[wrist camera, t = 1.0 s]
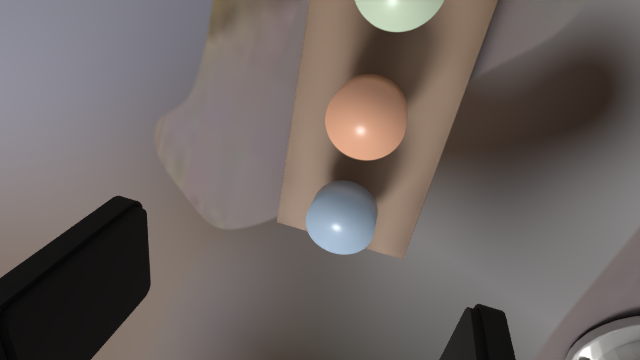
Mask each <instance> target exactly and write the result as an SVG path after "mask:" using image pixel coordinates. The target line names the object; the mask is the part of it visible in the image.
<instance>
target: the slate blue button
mask: <svg viewBox="0 0 640 360" xmlns="http://www.w3.org/2000/svg"><path fill="white" fill-rule="evenodd" d="M377 217H378V207H377V203H376V201H375V199H374V197H373V196H372V194H371V193H370V192H369V191H368V190H367V189H365V188H364V187H363V186H361V185H359V184H357V183H354V182H351V181H344V180H342V181H334V182H330V183H328V184H326V185H324V186H323V187H322V188H321V189H320V190H319V191H318V192H317V194H316V196H315V198H314V200H313V202H312V204H311V206H310V208H309V210H308V212H307V215H306V228H307V231H308V233H309V235H310V236H311V238H312V239H313V240H314V242H316V243H317V244H318V245H319V246H320V247H322V248H323V249H325V250H327V251H329V252H332V253H337V254H353V253H356V252H359V251H361V250H362V249H364V248H366V247H367V246H368V245H369V243H370V242H371V240H372V238H373V236H374V231H375V226H376V221H377Z"/></svg>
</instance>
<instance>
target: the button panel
mask: <svg viewBox="0 0 640 360" xmlns="http://www.w3.org/2000/svg"><path fill="white" fill-rule="evenodd" d="M497 2H498V0H444V2H443V4H442V5H441V7H440V8H439V10H438V11H437V12H436V13H435V15H434V16H433V17H432V18H431V19H429V20H428V21H427V22H426V23H424V24H423V25H421V26H419V27H417V28H415V29H412V30H409V31H404V32H390V31H385V30H382V29H380V28H378V27H376V26H374V25H373V24H371V23H370V22H369V21H368V20H366V18H365V17H364V16H363V15H362V14H361V12H360V11H359V9H358V7H357V5H356V2H355V0H309V7H308V14H307V20H306V27H305V34H304V41H303V48H302V54H301V61H300V68H299V75H298V82H297V88H296V95H295V102H294V109H293V116H292V122H291V129H290V136H289V143H288V149H287V156H286V163H285V170H284V177H283V183H282V190H281V197H280V204H279V211H278V217H277V222H279V223H282V224H285V225H289V226H292V227H295V228H299V229H302V230H306V231H307V228H306V215H307V212H308V210H309V208H310V206H311V204H312V202H313V200H314V198H315V196H316V194H317V192H318V191H319V190H320V189H321V188H322V187H323V186H324V185H326V184H328V183H330V182H334V181H342V180H344V181H351V182H354V183H357V184H359V185H361V186H363V187H364V188H365V189H367V190H368V191H369V192H370V193H371V194H372V196H373V197H374V199H375V201H376V203H377V207H378V217H377V221H376V226H375V231H374V236H373V238H372V240H371V242H370V243H369V245H368V246H367V247H366V248H367V249H370V250H374V251H377V252H380V253H384V254H387V255H390V256H394V257H397V258H401V259H403V258H404V256H405V253H406V250H407V247H408V245H409V242H410V239H411V237H412V234H413V231H414V229H415V226H416V223H417V220H418V218H419V215H420V212H421V209H422V206H423V204H424V201H425V198H426V195H427V193H428V190H429V187H430V185H431V182H432V179H433V177H434V174H435V171H436V168H437V166H438V163H439V160H440V157H441V155H442V152H443V149H444V147H445V144H446V141H447V138H448V135H449V133H450V130H451V127H452V125H453V122H454V119H455V116H456V113H457V111H458V108H459V105H460V103H461V100H462V97H463V94H464V92H465V89H466V87H467V84H468V81H469V78H470V76H471V73H472V70H473V67H474V65H475V62H476V59H477V56H478V54H479V51H480V48H481V46H482V43H483V40H484V37H485V35H486V32H487V29H488V26H489V24H490V21H491V18H492V16H493V13H494V10H495V7H496V5H497ZM363 74H376V75H380V76H383V77H386V78H388V79H390V80H391V81H393V82H394V83H395V84H396V85H397V86H398V87H399V88H400V89H401V91H402V92H403V94H404V96H405V98H406V101H407V106H408V117H407V124H406V130H405V134H404V136H403V139H402V141H401V142H400V144H399V145H398V147H397V148H396V149H395V150H394V151H392V152H391V153H390V154H388V155H386V156H384V157H382V158H379V159H375V160H359V159H355V158H352V157H349V156H347V155H345V154H344V153H342V152H341V151H340V150H338V149H337V148H336V147H335V145H334V144H333V143H332V141H331V140H330V138H329V136H328V133H327V130H326V125H325V115H326V111H327V107H328V105H329V103H330V101H331V100H332V98H333V97H334V96H335V94H336V93H337V92H338V90H339V89H340V88H341V87H342V85H343V84H345V83H346V82H347V81H348V80H350V79H352V78H354V77H356V76H359V75H363Z"/></svg>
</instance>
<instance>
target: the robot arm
mask: <svg viewBox="0 0 640 360" xmlns="http://www.w3.org/2000/svg"><path fill="white" fill-rule="evenodd" d="M148 246H149V245H148V227H147V213H146V210H144V209H143V208H142V204H141V203H140V202H138V201H135V200H132V199H128V198H125V197H122V196H116V197H113V198H112V199H110V200H109V201H107V202H106V203H105V204H103V205H102V206H101V207H99V208H98V209H96V210H95V211H94V212H92V213H91V214H89V215H88V216H87V217H85V218H84V219H82V220H81V221H80V222H78V223H77V224H75V225H74V226H73V227H71V228H70V229H68V230H67V231H66V232H64V233H63V234H61V235H60V236H59V237H57V238H56V239H54V240H53V241H52V242H50V243H49V244H47V245H46V246H45V247H43V248H42V249H40V250H39V251H38V252H36V253H35V254H33V255H32V256H31V257H29V258H28V259H26V260H25V261H24V262H22V263H21V264H19V265H18V266H17V267H15V268H14V269H12V270H11V271H10V272H8V273H7V274H5V275H4V276H3V277H1V278H0V360H91V359H92V357H93V356H94V355H95V354H96V353H97V352H98V351H99V349H100V348H101V347H102V346H103V345H104V344H105V343H106V341H107V340H108V339H109V338H110V337H111V336H112V334H114V332H115V331H116V330H117V329H118V328H119V327H120V325H121V324H122V323H123V322H124V321H125V320H126V319H127V317H128V316H129V315H130V314H131V313H132V312H133V311H134V309H135V308H136V307H137V306H138V305H139V304H140V302H141V301H142V300H143V299H144V298H145V296H146V295H147V293H148V291H149V289H150V263H149V247H148ZM439 360H516V359H515V355H514V350H513V346H512V342H511V337H510V333H509V328H508V325H507V319H506V316H505V313H504V312H503V311H501V310H498V309H494V308H491V307H487V306H484V305H481V304H477V305H475V307H474V308H473V309H472V308H469V307H467V308H466V309H465V311H464V313H463V315H462V317H461V319H460V321H459V322H458V324H457V326H456V328H455V330H454V332H453V334H452V336H451V338H450V340H449V342H448V344H447V346H446V348H445V350H444V352H443V354H442V356H441V358H440V359H439ZM565 360H640V316H634V317H629V318H624V319H620V320H616V321H613V322H610V323H608V324H605V325H602V326H600V327H598V328H596V329H594V330H592V331H590V332H589V333H587V334H586V335H584V336H583V337H582V338H581V339H579V340H578V341H577V342H576V343H575V344H574V345H573V347H572V348H571V349H570V350H569V352H568V354H567V356H566V358H565Z"/></svg>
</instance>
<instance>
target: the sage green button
mask: <svg viewBox="0 0 640 360" xmlns="http://www.w3.org/2000/svg"><path fill="white" fill-rule="evenodd" d="M355 2H356V5H357V7H358V9H359V11H360V12H361V14H362V15H363V16H364V17H365V18H366V20H368V21H369V22H370V23H371V24H373V25H374V26H376V27H378V28H380V29H382V30H385V31H390V32H404V31H409V30H412V29H415V28H417V27H419V26H421V25H423V24H424V23H426V22H427V21H428V20H429V19H431V18H432V17H433V16H434V15H435V13H436V12H437V11H438V10H439V8H440V7H441V5H442V4H443V2H444V0H355Z"/></svg>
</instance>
